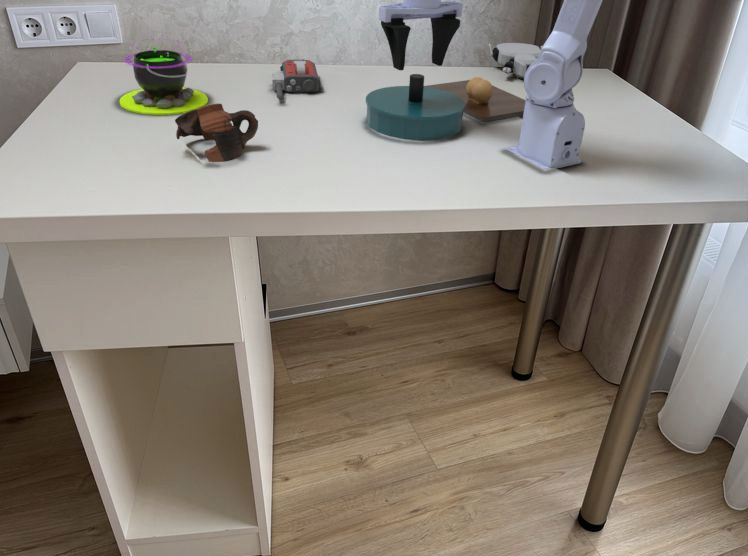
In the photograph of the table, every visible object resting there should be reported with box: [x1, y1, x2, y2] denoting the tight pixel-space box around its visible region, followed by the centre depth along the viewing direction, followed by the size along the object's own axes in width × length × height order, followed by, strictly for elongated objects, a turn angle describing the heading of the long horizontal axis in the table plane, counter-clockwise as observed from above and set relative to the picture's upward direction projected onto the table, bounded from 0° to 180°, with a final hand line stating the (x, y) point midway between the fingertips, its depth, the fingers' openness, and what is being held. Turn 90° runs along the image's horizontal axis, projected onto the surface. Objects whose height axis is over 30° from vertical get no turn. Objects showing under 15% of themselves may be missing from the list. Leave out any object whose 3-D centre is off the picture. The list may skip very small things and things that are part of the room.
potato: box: [466, 76, 493, 104], centre depth 128 cm, size 6×4×4 cm
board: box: [424, 79, 526, 123], centre depth 132 cm, size 20×14×1 cm
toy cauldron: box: [119, 31, 209, 116], centre depth 120 cm, size 15×15×11 cm
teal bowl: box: [366, 105, 464, 141], centre depth 118 cm, size 16×16×4 cm
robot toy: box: [488, 42, 543, 79], centre depth 150 cm, size 12×4×15 cm
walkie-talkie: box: [271, 58, 321, 101], centre depth 132 cm, size 9×4×20 cm
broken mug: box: [174, 103, 259, 163], centre depth 104 cm, size 12×10×8 cm
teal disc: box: [365, 73, 465, 120], centre depth 116 cm, size 17×17×5 cm
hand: (418, 66), depth 114 cm, fingers open, 7 cm apart
